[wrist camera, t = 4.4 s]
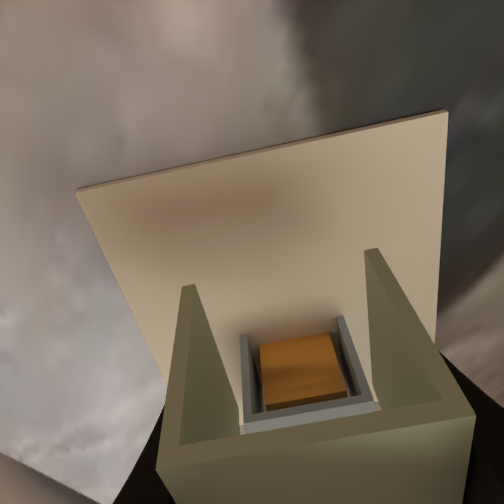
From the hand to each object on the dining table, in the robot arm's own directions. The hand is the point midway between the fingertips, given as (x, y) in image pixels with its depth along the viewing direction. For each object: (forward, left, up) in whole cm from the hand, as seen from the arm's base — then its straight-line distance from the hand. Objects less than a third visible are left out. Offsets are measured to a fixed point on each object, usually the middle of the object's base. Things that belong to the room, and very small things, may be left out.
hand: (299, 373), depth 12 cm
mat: (-5, 0, -9) cm, 10 cm away
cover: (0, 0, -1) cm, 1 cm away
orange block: (-9, 0, -8) cm, 12 cm away
